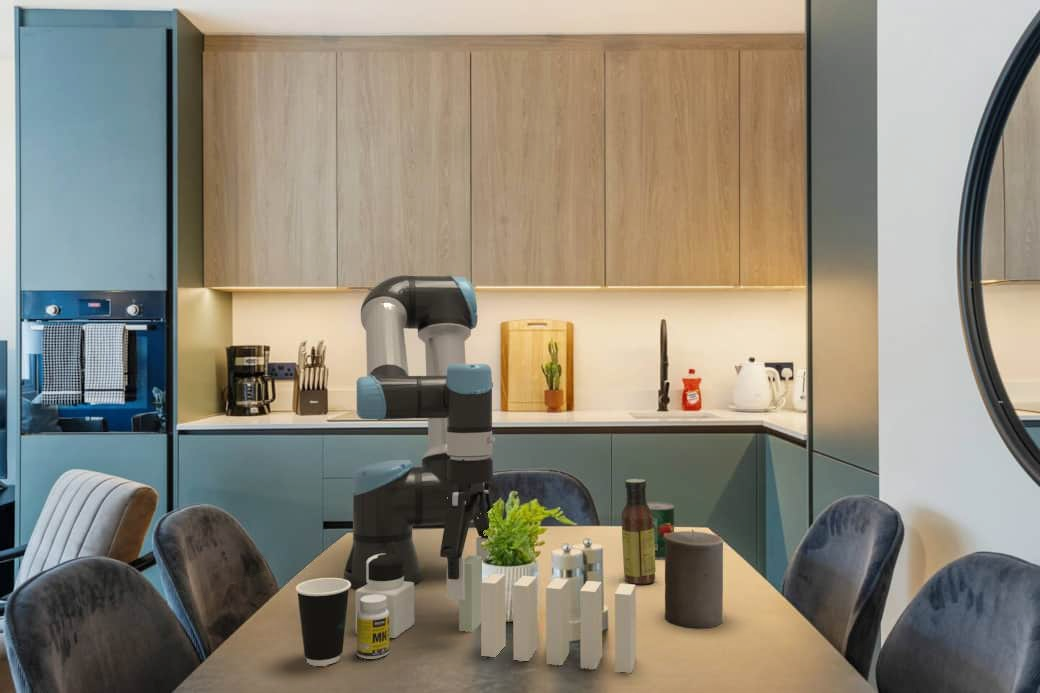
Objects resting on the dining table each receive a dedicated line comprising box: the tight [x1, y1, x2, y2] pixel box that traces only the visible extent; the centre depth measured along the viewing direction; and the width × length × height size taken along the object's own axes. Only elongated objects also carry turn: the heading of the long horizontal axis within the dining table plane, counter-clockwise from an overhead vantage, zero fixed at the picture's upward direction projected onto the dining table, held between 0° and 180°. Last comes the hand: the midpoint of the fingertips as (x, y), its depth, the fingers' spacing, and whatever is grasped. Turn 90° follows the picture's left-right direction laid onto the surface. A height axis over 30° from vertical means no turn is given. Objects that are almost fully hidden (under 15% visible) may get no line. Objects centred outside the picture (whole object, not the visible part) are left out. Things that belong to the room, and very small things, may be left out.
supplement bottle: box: [356, 594, 390, 660], centre depth 116 cm, size 5×5×8 cm
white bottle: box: [354, 553, 415, 639], centre depth 126 cm, size 7×7×12 cm
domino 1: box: [480, 572, 507, 658], centre depth 117 cm, size 2×5×11 cm, turn 163°
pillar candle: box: [664, 529, 724, 629], centre depth 131 cm, size 10×10×15 cm
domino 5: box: [614, 583, 637, 674], centre depth 111 cm, size 2×5×11 cm, turn 163°
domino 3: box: [545, 577, 570, 667], centre depth 114 cm, size 2×5×11 cm, turn 163°
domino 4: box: [579, 580, 603, 670], centre depth 112 cm, size 2×5×11 cm, turn 163°
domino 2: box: [512, 575, 538, 662], centre depth 115 cm, size 2×5×11 cm, turn 163°
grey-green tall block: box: [458, 555, 483, 633], centre depth 127 cm, size 2×5×11 cm, turn 163°
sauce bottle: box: [621, 478, 657, 585], centre depth 152 cm, size 6×6×20 cm
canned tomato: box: [646, 501, 675, 560], centre depth 172 cm, size 8×8×11 cm
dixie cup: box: [295, 577, 351, 665], centre depth 114 cm, size 8×8×11 cm
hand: (471, 587), depth 127 cm, fingers open, 13 cm apart
